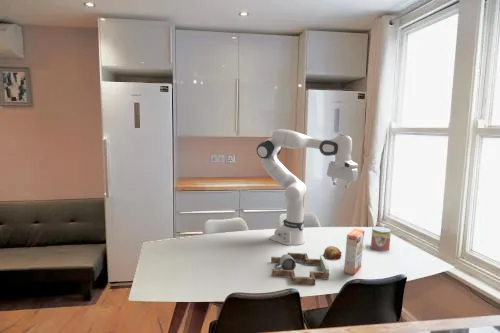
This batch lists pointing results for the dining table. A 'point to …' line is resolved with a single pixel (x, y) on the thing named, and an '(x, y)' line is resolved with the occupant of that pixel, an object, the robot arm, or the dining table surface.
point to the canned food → (380, 238)
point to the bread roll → (332, 253)
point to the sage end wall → (324, 265)
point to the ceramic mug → (286, 263)
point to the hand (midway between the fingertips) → (340, 186)
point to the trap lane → (300, 259)
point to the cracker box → (353, 251)
